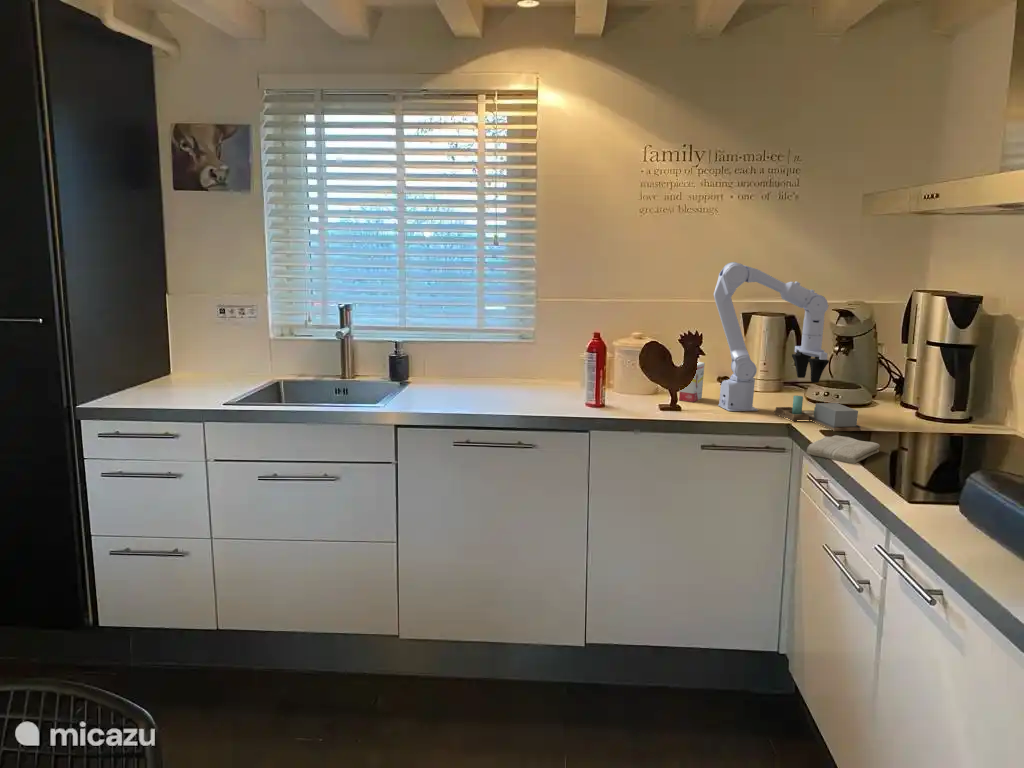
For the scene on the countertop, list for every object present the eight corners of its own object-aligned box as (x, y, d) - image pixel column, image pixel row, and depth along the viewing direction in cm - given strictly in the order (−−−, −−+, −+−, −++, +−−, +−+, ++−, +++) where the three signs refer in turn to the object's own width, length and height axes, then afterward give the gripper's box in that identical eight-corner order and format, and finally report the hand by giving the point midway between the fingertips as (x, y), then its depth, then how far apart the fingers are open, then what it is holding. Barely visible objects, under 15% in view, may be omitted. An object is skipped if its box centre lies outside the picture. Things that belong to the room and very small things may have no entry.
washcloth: (880, 453, 203) (882, 441, 202) (855, 466, 190) (856, 454, 189) (833, 443, 211) (834, 432, 210) (805, 456, 198) (806, 444, 197)
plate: (833, 431, 222) (835, 419, 222) (791, 413, 243) (792, 402, 243) (860, 430, 224) (861, 419, 223) (816, 412, 245) (817, 402, 244)
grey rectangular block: (834, 426, 223) (835, 411, 222) (814, 418, 233) (815, 403, 232) (856, 426, 224) (858, 410, 224) (835, 418, 234) (837, 403, 233)
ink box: (693, 402, 254) (696, 365, 252) (678, 400, 257) (680, 363, 255) (702, 398, 261) (705, 362, 259) (688, 396, 264) (690, 360, 262)
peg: (794, 418, 233) (796, 397, 232) (789, 415, 236) (791, 395, 235) (803, 417, 234) (804, 397, 233) (797, 415, 236) (799, 395, 235)
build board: (792, 421, 232) (793, 415, 232) (774, 413, 242) (775, 407, 242) (809, 421, 233) (810, 414, 233) (790, 413, 243) (791, 406, 243)
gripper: (838, 338, 235) (833, 384, 237) (811, 331, 249) (806, 375, 251) (816, 338, 233) (811, 384, 236) (790, 331, 247) (785, 375, 250)
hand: (807, 379), depth 243 cm, fingers open, 7 cm apart
